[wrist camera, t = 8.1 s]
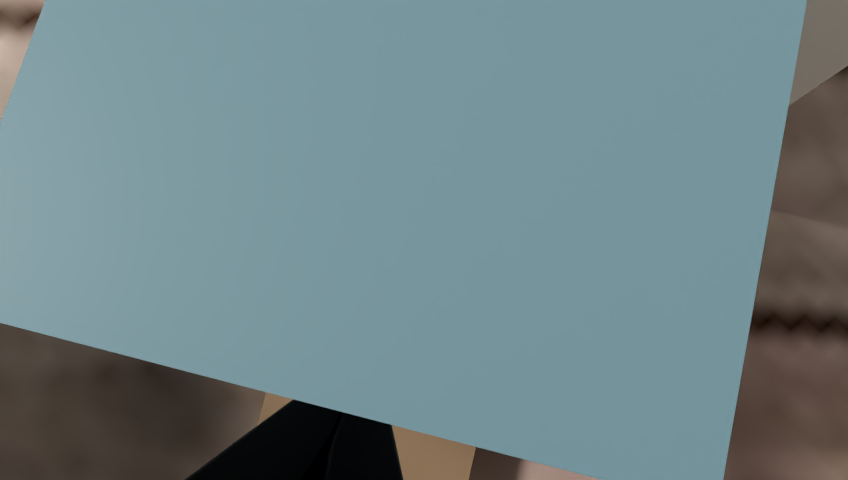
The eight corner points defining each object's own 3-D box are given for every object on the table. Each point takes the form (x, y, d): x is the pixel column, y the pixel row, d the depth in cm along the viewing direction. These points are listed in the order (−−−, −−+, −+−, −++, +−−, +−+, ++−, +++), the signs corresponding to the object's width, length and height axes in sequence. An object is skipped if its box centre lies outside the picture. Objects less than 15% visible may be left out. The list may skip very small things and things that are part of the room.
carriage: (543, 416, 16) (739, 516, 6) (230, 335, 16) (-67, 305, 6) (600, 159, 17) (847, -113, 7) (303, 87, 17) (144, -270, 7)
